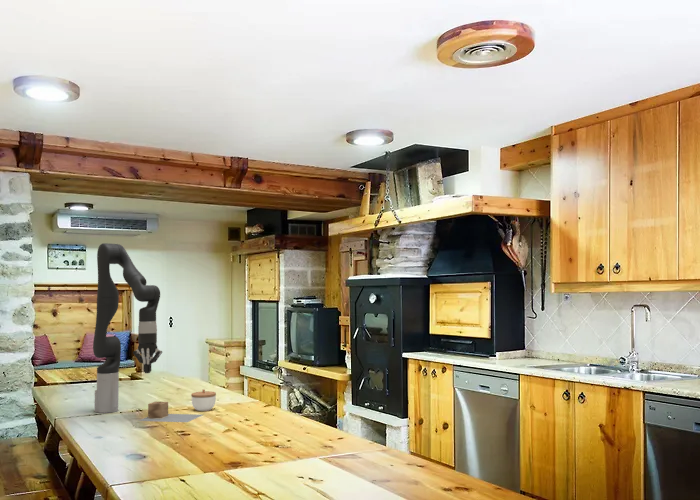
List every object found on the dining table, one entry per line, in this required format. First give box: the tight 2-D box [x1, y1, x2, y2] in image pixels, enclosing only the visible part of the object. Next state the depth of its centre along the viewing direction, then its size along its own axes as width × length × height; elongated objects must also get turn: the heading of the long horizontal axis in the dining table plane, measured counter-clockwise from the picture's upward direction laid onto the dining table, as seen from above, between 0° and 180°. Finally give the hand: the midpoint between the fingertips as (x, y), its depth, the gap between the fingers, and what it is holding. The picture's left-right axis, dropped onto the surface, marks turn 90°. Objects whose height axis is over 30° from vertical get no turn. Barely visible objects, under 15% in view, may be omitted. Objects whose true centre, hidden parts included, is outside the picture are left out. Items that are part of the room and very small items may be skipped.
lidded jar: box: [190, 388, 217, 412], centre depth 293 cm, size 11×11×9 cm
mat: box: [137, 413, 203, 423], centre depth 275 cm, size 22×16×1 cm
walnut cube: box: [147, 401, 169, 419], centre depth 276 cm, size 6×6×6 cm
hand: (147, 373), depth 278 cm, fingers closed
